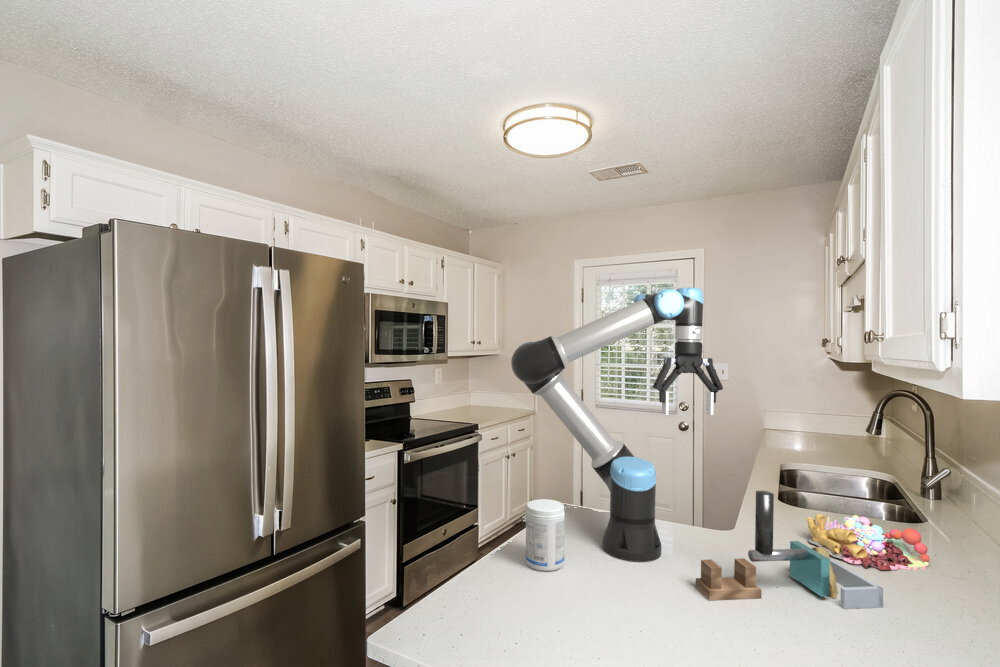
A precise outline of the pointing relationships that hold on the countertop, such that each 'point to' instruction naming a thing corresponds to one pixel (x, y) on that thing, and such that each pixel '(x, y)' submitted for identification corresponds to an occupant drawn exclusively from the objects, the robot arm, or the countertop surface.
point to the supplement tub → (545, 534)
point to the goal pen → (856, 589)
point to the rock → (832, 586)
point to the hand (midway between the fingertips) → (687, 414)
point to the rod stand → (728, 581)
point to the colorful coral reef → (868, 543)
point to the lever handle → (788, 550)
